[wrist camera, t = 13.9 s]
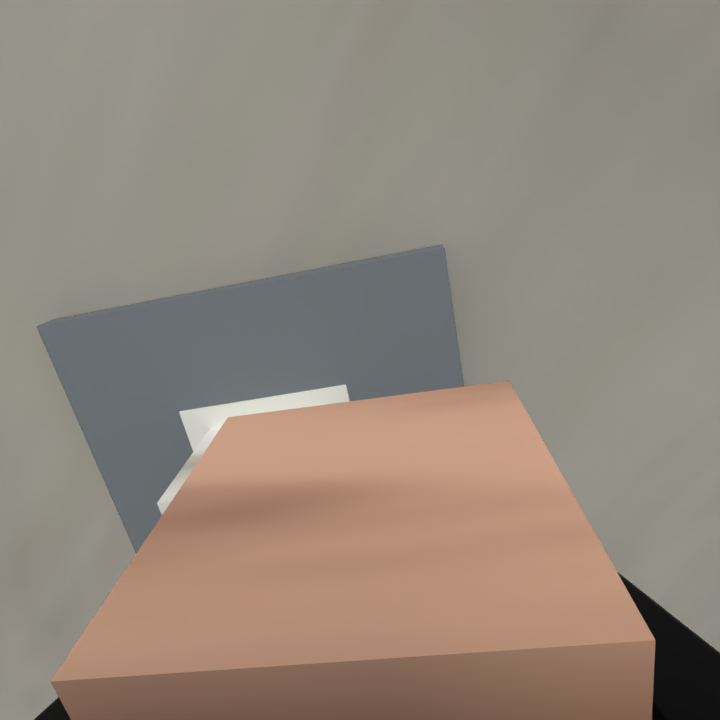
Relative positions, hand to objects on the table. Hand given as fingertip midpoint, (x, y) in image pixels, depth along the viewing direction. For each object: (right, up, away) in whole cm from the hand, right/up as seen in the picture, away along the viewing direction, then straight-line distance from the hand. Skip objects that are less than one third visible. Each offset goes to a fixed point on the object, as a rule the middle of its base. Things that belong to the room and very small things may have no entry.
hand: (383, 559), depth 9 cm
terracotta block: (0, 0, +1) cm, 1 cm away
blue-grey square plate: (-4, -1, +13) cm, 14 cm away
